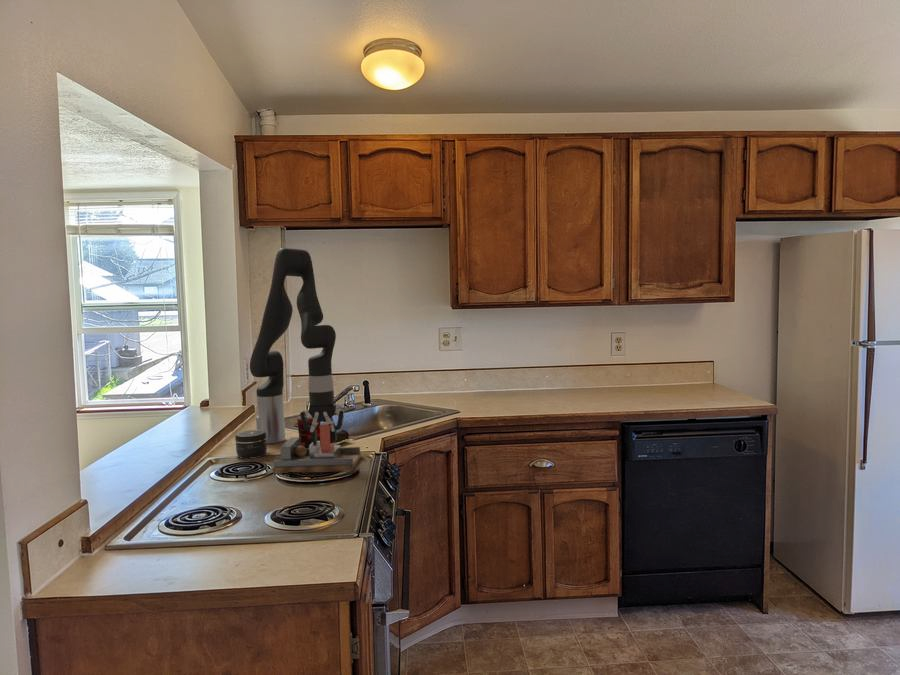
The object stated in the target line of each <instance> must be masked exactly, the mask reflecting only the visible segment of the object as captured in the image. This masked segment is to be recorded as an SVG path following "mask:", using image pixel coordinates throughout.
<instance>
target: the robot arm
mask: <svg viewBox="0 0 900 675" xmlns="http://www.w3.org/2000/svg"><path fill="white" fill-rule="evenodd" d="M274 259H275V260H274V264H273V273H272V276H271V278H272V279H271V283H270V290H269V292H268V297H267V301H266V304H265V307H264V311H263V316H262V320H261V326H260V329H259V332H258V337H257V340H256V343H255V345H254V348H253V351H252V353H251V355H250V356H251V357H250V361H249V370H250V374H251V376H253V377H254V378H267V377H268V379H267V380H266V381H265V382H264V383H263V384H261V385H260V386H258V387H257V388H256V392H255V393H256V407H257V408H256V409H257V416H256V417H255V422H256V423H255V425H256V430H263V431H265V432H266V437H267V439H266V443H267V445H268V444H278V443H281V442H285V441H286V430H285V429H286V428H285V426H286V425H285V408H284V394H283V392H284V391H283V389H284V360H283V359H284V358H283V356H282V354H281V352H280V351H277V350H271V349H272V347H273V346H274V344H275V343H276V342H277V341H278V340H279V339H280V338H281V337H282V336H283V335H284V333H286V331H287V330H288V328H289V326H290V323H291V319H292V316H293V315H292V314H293V305H292V302H291V300H290V298H289V296H288V294H287V290H286V287H285V281H286V278H287V277H297V278H301V279H302V286H301V288H300V290H299V292H298V293H297V296H296V308H297V310H298V314H299V318H300V323H301V324H300V325H301V331H300V343H301V344H302V345H303V347H304V348H305V349H314V350H315V349H322V350H321V352H320V353H319V354H316V355H313V356H310V357H309V358H308V360H307V367H308V386H307V388H308V398H309V400H308V401H309V408H308V410H302V411H300V413H299V416H301V419H302V423H303V426H304V430H306V431H310V432H311V441H312V442H313V444H316V443H317V431H316V427H317V424H318V422H320V423H325V422H327V423H328V425H330V428H331V443H334V442H335V441H336V439H337V435H336V432H337V431H338V430H340V429H341V428H342V427H343V424H344V418H345V412H346V411H345V409H343V408H342V409H338V408H336V406H335V394H334V393H335V392H334V389H335V388H334V378H333V373H332V372H333V371H332V370H333V369H332V358H333V352H334V347H335V344H336V338H337V334H336V331H335V329H334V327H333V326H332V325H329V324H321V323H322V322H323V320H324V313H323V310H322V308H321V304H320V301H319V299H318V298H319V297H318V293H317V288H316V280H315V273H314V266H313V261H312V256H311V255H310V253H309V252H308V251H307V250H305V249H300V248H291V247H290V248H289V247H281V248H279V249H278V250H277V253H276V255H275V258H274ZM320 324H321V325H320ZM308 414H310V415H311V416H312V417H313V422H312V426H310V425H309V421H308V418H307V417H308V416H309V415H308ZM335 414H336V416H337V418H338V419H337V423H336V424H335V420H334V418H333V417H334V415H335ZM334 444H335V443H334Z"/></svg>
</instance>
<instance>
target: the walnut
mask: <svg viewBox="0 0 900 675" xmlns="http://www.w3.org/2000/svg"><path fill="white" fill-rule="evenodd" d="M306 453H307V450H306V448H305V447H304V446H298V447H297V448H296V449H295V455H296V456H297V457H304V456H305V455H306Z"/></svg>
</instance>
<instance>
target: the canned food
mask: <svg viewBox="0 0 900 675" xmlns="http://www.w3.org/2000/svg"><path fill="white" fill-rule="evenodd" d="M308 415H309V416H308V417H307V418H308V421H309V425H310V426H312V422H313V417H312V416H311V415H310V414H308ZM296 419H297V429H298V430H297V431H298V437H301V446H305V443H306V441H307V440H308V439H309V438H311V432H310V431H306V430H304V426H303V423H302V419H301V416H300V415H298V416H297V417H296ZM321 424H322V422H318V424H317V427H316V431H317V437H319V438H320V425H321Z"/></svg>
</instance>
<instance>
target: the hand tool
mask: <svg viewBox="0 0 900 675" xmlns="http://www.w3.org/2000/svg"><path fill="white" fill-rule="evenodd" d="M336 435H337V439H336V441H335V442H334V444H337V443H342V442H344V441H343V440H345V439H348V440H349V438H350V437H349V436H350V433H349V432H348V431H347V430H346V429H341V430H340V431H338V432H337V431H336ZM317 441H320V438H319V437H317ZM311 443H312V441H311V438H309V439H308V440H307V441H306V443H305V446H304V447H305V448H309V445H310V444H311ZM320 447H321V441H320Z"/></svg>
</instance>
